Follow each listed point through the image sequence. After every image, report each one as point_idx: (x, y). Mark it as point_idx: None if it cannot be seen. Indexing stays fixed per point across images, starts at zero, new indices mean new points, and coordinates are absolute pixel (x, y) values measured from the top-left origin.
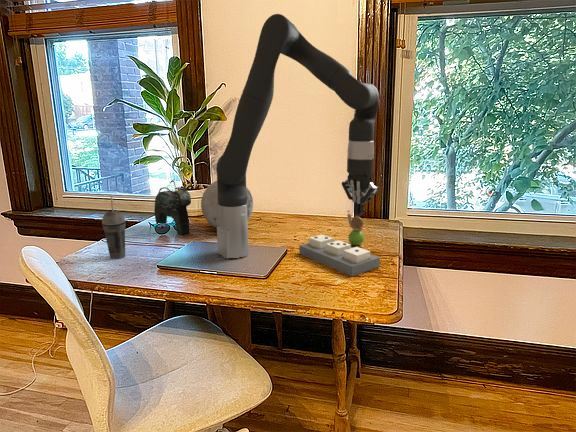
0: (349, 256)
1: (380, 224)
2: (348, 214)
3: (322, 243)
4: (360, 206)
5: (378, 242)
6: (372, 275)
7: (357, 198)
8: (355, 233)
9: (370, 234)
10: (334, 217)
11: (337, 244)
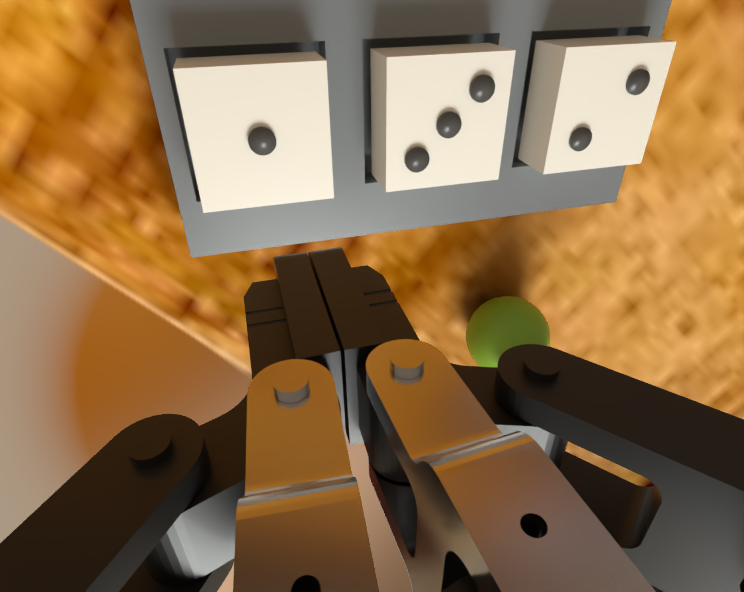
0: (259, 59)
1: None
2: None
3: (553, 65)
4: (258, 358)
5: None
6: (88, 102)
7: (333, 432)
8: (512, 340)
9: None
10: (733, 414)
11: (446, 112)
